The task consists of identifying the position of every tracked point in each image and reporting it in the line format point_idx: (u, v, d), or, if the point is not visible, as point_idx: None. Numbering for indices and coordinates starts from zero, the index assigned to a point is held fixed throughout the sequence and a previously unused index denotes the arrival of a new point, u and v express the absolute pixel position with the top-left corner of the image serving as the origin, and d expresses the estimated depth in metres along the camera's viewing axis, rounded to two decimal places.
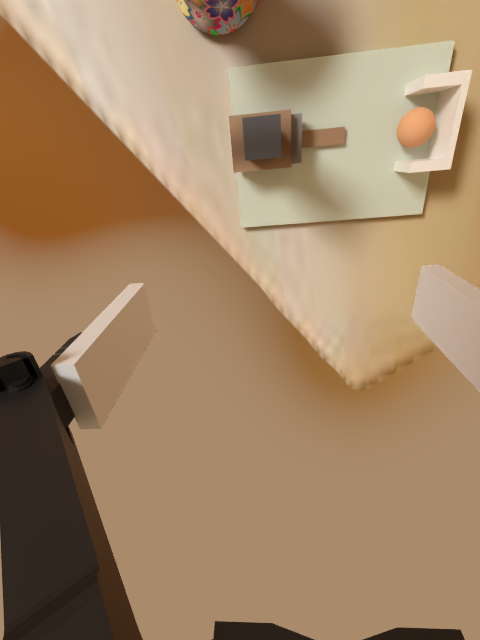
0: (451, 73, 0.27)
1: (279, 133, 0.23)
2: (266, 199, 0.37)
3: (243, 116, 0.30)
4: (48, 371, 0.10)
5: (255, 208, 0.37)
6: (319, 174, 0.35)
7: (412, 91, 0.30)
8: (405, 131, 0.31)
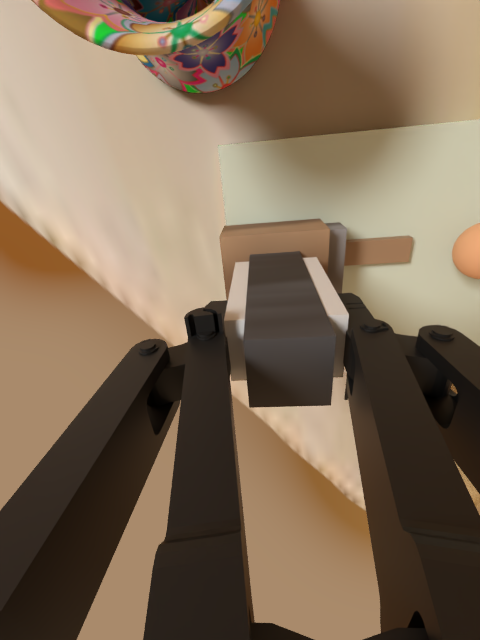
0: None
1: (329, 368, 0.10)
2: None
3: (245, 238, 0.17)
4: None
5: None
6: (364, 298, 0.22)
7: None
8: None
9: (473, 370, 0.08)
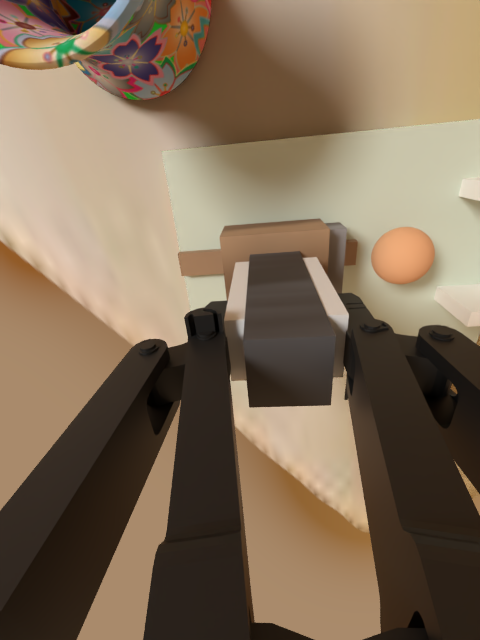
0: None
1: (329, 368, 0.10)
2: None
3: (244, 238, 0.17)
4: None
5: None
6: None
7: (477, 198, 0.17)
8: None
9: (473, 370, 0.08)
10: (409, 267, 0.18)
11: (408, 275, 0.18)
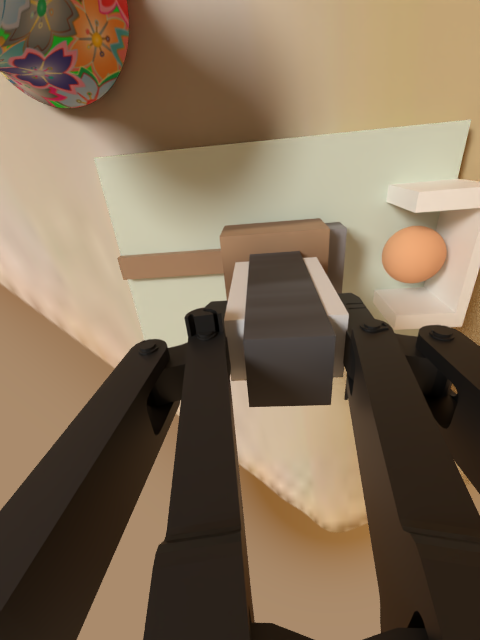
0: (466, 190, 0.15)
1: (329, 367, 0.10)
2: (183, 333, 0.25)
3: (244, 237, 0.17)
4: None
5: (169, 344, 0.25)
6: None
7: (398, 204, 0.18)
8: (400, 266, 0.18)
9: (473, 370, 0.08)
10: None
11: None
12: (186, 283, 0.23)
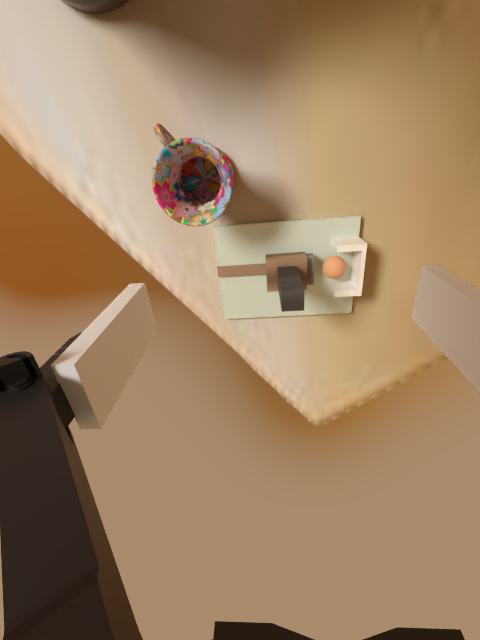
0: (354, 245, 0.43)
1: (303, 299, 0.37)
2: (242, 302, 0.52)
3: (275, 260, 0.45)
4: (48, 371, 0.10)
5: (234, 307, 0.53)
6: None
7: (334, 247, 0.45)
8: None
9: None
10: None
11: None
12: (245, 278, 0.50)
